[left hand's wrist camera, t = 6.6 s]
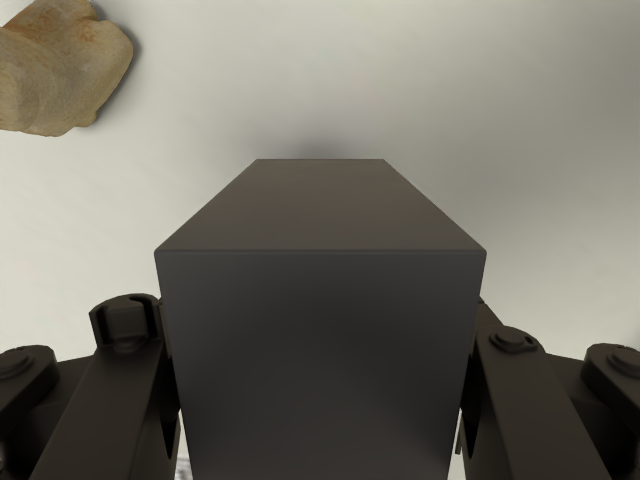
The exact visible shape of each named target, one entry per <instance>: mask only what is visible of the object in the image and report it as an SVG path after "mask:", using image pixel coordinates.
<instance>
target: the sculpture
mask: <svg viewBox="0 0 640 480" xmlns="http://www.w3.org/2000/svg"><path fill="white" fill-rule="evenodd" d="M132 57H133V45H132V42H131V41H130V40H129V39H128V37H127V36H126V35H125V34H124V33H123V32H122V31H121V29H120V28H119V27H118V26H117V25H116V24H114V23H113V22H111V21H108V20H103V21H98V17H97V14H96V12H95V10H94V8H93V7H92V5H91V4H90V3H89V2H88V1H87V0H36V1H34V2H33V3H32V4H30V5H29V6H28V7H26V8H25V9H24V10H22V11H21V12H20V13H18V14H17V15H16V16H15V17H14V18H12V19H11V20H10V21H9V22H8V23H6V24H5V25H4V26H3V27H0V129H1V130H8V131H21V132H24V133H27V134H35V135H41V136H46V137H47V136H53V137H58V136H61V135H64V134H65V133H66V132H68V131H69V130H70V129H72V128H73V127H74V126H76V127H88V126H90V125H91V124H92V123H93V122H94V121H95V119H96V117H97V112H96V111H97V110H98V109H99V108H100V107H101V106H102V105H103V104H104V103H105V102H106V101H107V99H108V98H109V97H110V95H111V94H112V92H113V91H114V89H115V88H116V86H117V85H118V83H119V82H120V80H121V79H122V77H123V75H124V74H125V72H126V70H127V68H128V67H129V64H130V62H131V60H132Z"/></svg>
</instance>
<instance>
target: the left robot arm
mask: <svg viewBox="0 0 640 480" xmlns="http://www.w3.org/2000/svg"><path fill="white" fill-rule="evenodd" d="M89 317H90V321H91V325H92V328H93V332H94V336H95V340H96V344H97V349H96V351H95V353H94V355H91V356H87V357H82V358H77V359H72V360H67V361H62V362H57V360H56V357H55V354H54V351H53V350H52V349H51V348H50V347H48V346H43V345H31V346H22V347H17V348H16V349H15V348H13V349H10V350H7V351H5V352H4V353H2V354H0V480H174V477H175V469H176V462H177V454H178V447H179V439H180V432H181V427H180V420H179V414H178V413H179V410H180V408H181V407H180V401H179V395H178V389H177V384H176V378H175V372H174V366H173V361H172V355H171V349H170V343H169V338H168V332H167V326H166V320H165V315H164V309H163V303H162V297H161V298H160V299H159V300H158V299H157V298H156V297H154V296H153V295H149V294H144V293H138V294H127V295H122V296H117V297H115V298H112V299H109V300H106V301H104V302H102V303H101V304H99V305H97V306H95V307H94V308H93V309H92V310H91V311H90V312H89ZM460 408H461V410H462V414H461V420H460V425H459V431H458V437H457V442H456V449H455V454H459V455H460V452H461V447H462V453H463V461H464V468H465V476H466V480H640V352H639V351H637V350H636V349H633V348H630V347H627V346H626V347H624V346H623V345H618V344H607V343H600V344H593V345H592V346H590V347H589V348H588V349H587V352H586V355H585V358H584V361H582V360H577V359H572V358H567V357H562V356H556V355H552V354H548V353H546V352H545V350H544V348H543V346H542V345H541V344H540V343H539V342H538V340H537V339H535V338H534V337H532V336H531V335H529V334H528V333H526V332H524V331H521V330H519V329H516V328H514V327H509V326H505V325H503V324H502V322H501V321H500V320H499V319H498V318H497V316H496V315H495V314H494V313H493V312H492V310H491V309H490V308H489V307H488V305H487V304H485V303H484V301H483V299H482V298H481V297H480V296H479V301H478V306H477V312H476V318H475V324H474V329H473V335H472V341H471V346H470V352H469V358H468V364H467V369H466V375H465V381H464V386H463V392H462V398H461V404H460Z"/></svg>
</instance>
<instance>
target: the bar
mask: <svg viewBox="0 0 640 480" xmlns="http://www.w3.org/2000/svg"><path fill="white" fill-rule="evenodd" d="M486 255H487V253H486V250H485V249H484V248H483V247H482V246H481V245H479V244H478V243H477V242H476V241H475V240H474V239H473V238H472V237H470V236H469V235H468V234H467V233H466V232H465V231H464V230H463V229H461V228H460V227H459V226H458V225H457V224H456V223H455V222H454V221H452V220H451V219H450V218H449V217H448V216H447V215H446V214H445V213H443V212H442V211H441V210H440V209H439V208H438V207H437V206H435V205H434V204H433V203H432V202H431V201H430V200H429V199H428V198H426V197H425V196H424V195H423V194H422V193H421V192H420V191H419V190H417V189H416V188H415V187H414V186H413V185H412V184H411V183H410V182H408V181H407V180H406V179H405V178H404V177H403V176H402V175H401V174H399V173H398V172H397V171H396V170H395V169H394V168H393V167H392V166H390V165H389V164H388V163H387V162H386V161H385V160H383V159H257V160H255V161H254V162H253V163H252V164H251V165H250V166H249V167H248V168H246V169H245V170H244V171H243V172H242V173H241V174H240V175H239V176H237V177H236V178H235V179H234V180H233V181H232V182H231V183H230V184H228V185H227V186H226V187H225V188H224V189H223V190H222V191H221V192H219V193H218V194H217V195H216V196H215V197H214V198H213V199H212V200H210V201H209V202H208V203H207V204H206V205H205V206H204V207H203V208H202V209H200V210H199V211H198V212H197V213H196V214H195V215H194V216H193V217H191V218H190V219H189V220H188V221H187V222H186V223H185V224H184V225H182V226H181V227H180V228H179V229H178V230H177V231H176V232H175V233H173V234H172V235H171V236H170V237H169V238H168V239H167V240H166V241H164V242H163V243H162V244H161V245H160V246H159V247H158V248H157V249H156V250H155V251H154V257H155V263H156V269H157V274H158V280H159V286H160V292H161V297H162V303H163V309H164V315H165V320H166V326H167V332H168V338H169V343H170V349H171V355H172V361H173V366H174V372H175V378H176V384H177V389H178V395H179V401H180V407H181V412H182V418H183V424H184V430H185V435H186V441H187V447H188V453H189V458H190V464H191V470H192V476H193V480H447V478H448V472H449V467H450V461H451V455H452V449H453V444H454V438H455V432H456V427H457V421H458V415H459V409H460V404H461V398H462V392H463V386H464V381H465V375H466V369H467V364H468V358H469V352H470V346H471V341H472V335H473V329H474V324H475V318H476V312H477V306H478V301H479V295H480V289H481V283H482V278H483V272H484V266H485V261H486Z"/></svg>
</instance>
